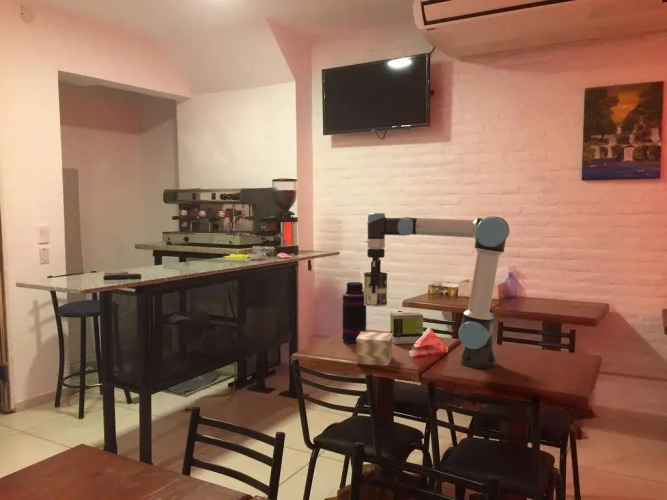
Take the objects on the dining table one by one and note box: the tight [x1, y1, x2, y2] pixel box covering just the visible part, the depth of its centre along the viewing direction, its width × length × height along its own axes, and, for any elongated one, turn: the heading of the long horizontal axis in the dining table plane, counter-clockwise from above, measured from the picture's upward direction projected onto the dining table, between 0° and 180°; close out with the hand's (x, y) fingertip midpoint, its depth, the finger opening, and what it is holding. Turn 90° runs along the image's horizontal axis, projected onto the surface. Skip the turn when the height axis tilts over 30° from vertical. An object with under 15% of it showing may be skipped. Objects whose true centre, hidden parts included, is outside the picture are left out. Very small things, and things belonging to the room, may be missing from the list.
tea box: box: [389, 311, 424, 345], centre depth 286 cm, size 15×10×15 cm, turn 94°
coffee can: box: [363, 271, 388, 308], centre depth 248 cm, size 10×10×14 cm
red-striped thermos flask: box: [341, 281, 367, 344], centre depth 286 cm, size 14×12×30 cm
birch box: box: [356, 331, 393, 366], centre depth 250 cm, size 15×15×11 cm
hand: (375, 298), depth 249 cm, fingers closed on coffee can, 10 cm apart
